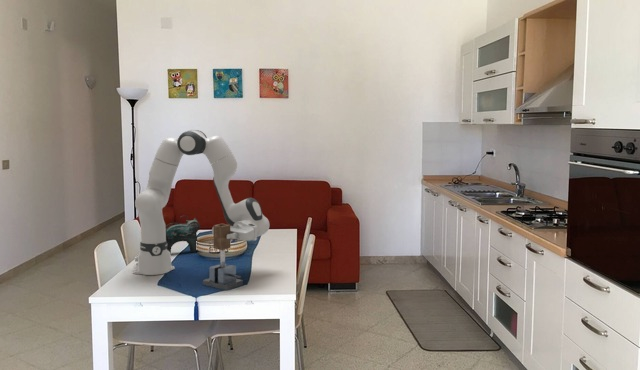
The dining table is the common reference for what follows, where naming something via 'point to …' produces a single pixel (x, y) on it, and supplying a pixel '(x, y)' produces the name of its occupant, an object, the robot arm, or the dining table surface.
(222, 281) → the vise
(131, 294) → the dining table surface
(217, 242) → the walnut sleeve
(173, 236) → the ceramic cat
